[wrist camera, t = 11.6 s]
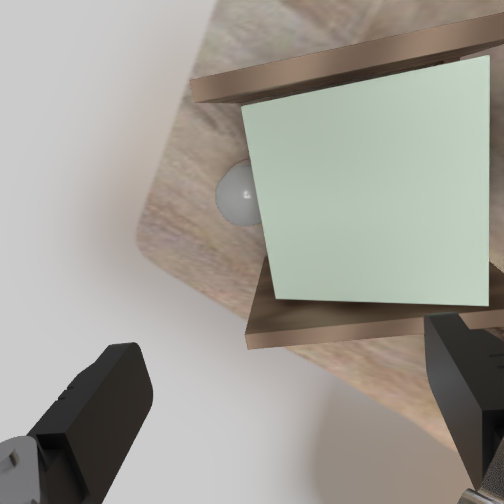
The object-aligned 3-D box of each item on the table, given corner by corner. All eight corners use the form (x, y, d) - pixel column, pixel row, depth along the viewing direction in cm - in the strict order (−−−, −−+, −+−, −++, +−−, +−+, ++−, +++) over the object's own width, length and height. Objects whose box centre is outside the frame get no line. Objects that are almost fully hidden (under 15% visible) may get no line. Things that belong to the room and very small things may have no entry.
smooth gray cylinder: (210, 173, 34) (221, 163, 39) (221, 229, 35) (230, 213, 41) (269, 164, 33) (272, 155, 38) (278, 222, 35) (280, 206, 40)
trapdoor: (653, 22, 19) (683, 14, 17) (622, 286, 24) (642, 311, 21) (259, 103, 29) (240, 106, 26) (289, 282, 33) (275, 298, 31)
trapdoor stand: (451, 43, 33) (556, 0, 19) (455, 244, 39) (540, 323, 25) (233, 89, 37) (189, 80, 23) (266, 268, 42) (247, 349, 28)
